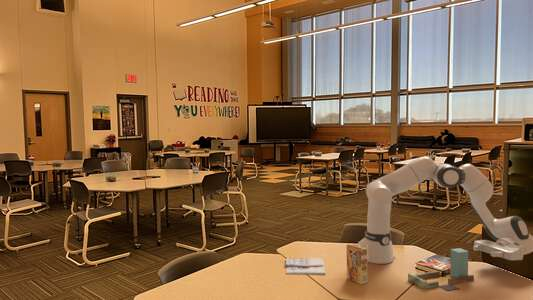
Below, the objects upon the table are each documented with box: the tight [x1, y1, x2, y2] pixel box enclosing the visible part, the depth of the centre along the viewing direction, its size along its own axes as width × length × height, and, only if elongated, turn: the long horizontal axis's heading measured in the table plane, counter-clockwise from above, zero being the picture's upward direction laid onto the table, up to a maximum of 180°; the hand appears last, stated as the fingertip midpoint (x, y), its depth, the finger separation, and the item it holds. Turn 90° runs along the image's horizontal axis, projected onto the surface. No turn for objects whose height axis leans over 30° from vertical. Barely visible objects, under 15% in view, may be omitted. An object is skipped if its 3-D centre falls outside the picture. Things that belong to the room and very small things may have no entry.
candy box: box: [346, 243, 368, 285], centre depth 178 cm, size 9×4×15 cm, turn 33°
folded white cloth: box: [285, 257, 326, 276], centre depth 197 cm, size 19×20×2 cm
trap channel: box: [407, 268, 475, 292], centre depth 178 cm, size 21×26×3 cm
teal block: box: [449, 247, 469, 278], centre depth 181 cm, size 5×5×12 cm
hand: (483, 251), depth 185 cm, fingers open, 8 cm apart
